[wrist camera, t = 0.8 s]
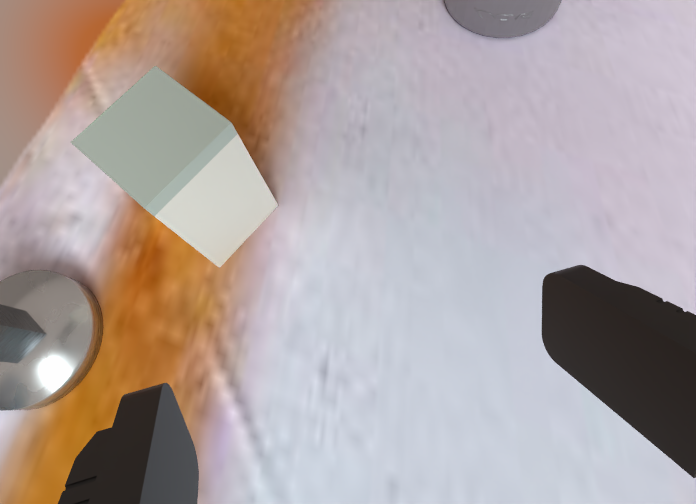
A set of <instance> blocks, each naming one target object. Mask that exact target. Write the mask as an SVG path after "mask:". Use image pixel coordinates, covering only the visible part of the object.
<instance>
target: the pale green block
mask: <svg viewBox="0 0 696 504" xmlns="http://www.w3.org/2000/svg"><path fill="white" fill-rule="evenodd" d="M71 143H72V144H73V145H74V146H75V147H76V148H78V149H79V150H80V151H81V152H82V153H83V154H84V155H85V156H86V157H88V158H89V159H90V160H91V161H92V162H93V163H94V164H95V165H97V166H98V167H99V168H100V169H101V170H102V171H103V172H104V173H105V174H107V175H108V176H109V177H110V178H111V179H112V180H113V181H114V182H115V183H117V184H118V185H119V186H120V187H121V188H122V189H123V190H124V191H126V192H127V193H128V194H129V195H130V196H131V197H132V198H133V199H134V200H136V201H137V202H138V203H139V204H140V205H141V206H142V207H143V208H145V209H146V210H147V211H148V212H150V213H151V214H152V215H153V216H155V217H156V218H157V219H158V220H160V221H161V222H162V223H164V224H165V225H166V226H167V227H169V228H170V229H171V230H172V231H174V232H175V233H176V234H177V235H179V236H180V237H181V238H182V239H184V240H185V241H186V242H187V243H189V244H190V245H191V246H193V247H194V248H195V249H196V250H198V251H199V252H200V253H201V254H203V255H204V256H205V257H206V258H208V259H209V260H210V261H211V262H213V263H214V264H215V265H217V266H218V267H219V268H220V267H221V266H222V265H223V264H224V263H225V262H226V261H227V260H228V259H229V257H230V256H231V255H232V254H233V253H234V252H235V251H236V250H237V249H238V248H239V247H240V246H241V245H242V244H243V243H244V242H245V240H246V239H247V238H248V237H249V236H250V235H251V234H252V233H253V232H254V231H255V230H256V229H257V228H258V227H259V226H260V225H261V223H262V222H263V221H264V220H265V219H266V218H267V217H268V216H269V215H270V214H271V213H272V212H273V211H274V210H275V209H276V207H277V206H278V204H277V202H276V200H275V199H274V197H273V195H272V193H271V192H270V190H269V188H268V186H267V185H266V183H265V181H264V179H263V177H262V176H261V174H260V172H259V170H258V169H257V167H256V165H255V163H254V162H253V160H252V158H251V156H250V155H249V153H248V151H247V149H246V148H245V146H244V144H243V142H242V140H241V139H240V137H239V135H238V133H237V132H236V130H235V128H234V126H233V125H232V123H231V122H230V121H229V120H227V119H226V118H225V117H223V116H222V115H221V114H219V113H218V112H217V111H215V110H214V109H213V108H211V107H210V106H209V105H207V104H206V103H205V102H203V101H202V100H201V99H199V98H198V97H197V96H195V95H194V94H193V93H191V92H190V91H189V90H187V89H186V88H185V87H183V86H182V85H181V84H179V83H178V82H177V81H175V80H174V79H173V78H171V77H170V76H169V75H167V74H166V73H165V72H163V71H162V70H161V69H159V68H158V67H157V66H154V67H153V68H152V69H151V70H150V71H149V72H148V73H147V74H145V75H144V76H143V77H142V78H141V79H140V80H139V81H138V82H137V83H136V84H134V85H133V86H132V87H131V88H130V89H129V90H128V91H127V92H126V93H125V94H123V95H122V96H121V97H120V98H119V99H118V100H117V101H116V102H115V103H113V104H112V105H111V106H110V107H109V108H108V109H107V110H106V111H105V112H104V113H102V114H101V115H100V116H99V117H98V118H97V119H96V120H95V121H94V122H92V123H91V124H90V125H89V126H88V127H87V128H86V129H85V130H84V131H83V132H81V133H80V134H79V135H78V136H77V137H76V138H75V139H74V140H73V141H71Z"/></svg>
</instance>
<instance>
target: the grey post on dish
mask: <svg viewBox="0 0 696 504" xmlns="http://www.w3.org/2000/svg"><path fill="white" fill-rule="evenodd" d="M102 335H103V319H102V313H101V309H100V307H99V304H98V302H97V300H96V298H95V296H94V295H93V294H92V293H91V291H90V290H89V289H88V288H87V287H85V286H84V285H83V284H81V283H80V282H78V281H76V280H74V279H71V278H69V277H66V276H63V275H61V274H58V273H56V272H52V271H46V270H31V271H26V272H22V273H18V274H15V275H13V276H11V277H8V278H6V279H4V280H3V281H1V282H0V410H31V409H37V408H41V407H44V406H47V405H49V404H52V403H54V402H56V401H57V400H59V399H61V398H63V397H64V396H65V395H67V394H68V393H69V392H71V391H72V390H73V389H74V388H75V387H76V386H77V385H78V384H79V383H80V382H81V381H82V380H83V378H84V377H85V376H86V374H87V373H88V372H89V370H90V369H91V367H92V365H93V363H94V361H95V359H96V357H97V354H98V352H99V349H100V345H101V341H102Z"/></svg>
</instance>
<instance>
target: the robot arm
mask: <svg viewBox="0 0 696 504" xmlns="http://www.w3.org/2000/svg"><path fill="white" fill-rule="evenodd" d="M444 1H445V4H446V7H447V9H448V11H449V13H450V14H451V15H452V17H453V18H454V19H455V20H456V21H457V22H458V23H459V24H461V25H462V26H463V27H465V28H467V29H469V30H470V31H472V32H475V33H478V34H481V35H484V36H489V37H496V38H510V37H516V36H522V35H525V34H528V33H530V32H533V31H535V30H537V29H539V28H540V27H542V26H544V25H545V24H546V23H547V22H548V21H549V20H550V19H551V18H552V17H553V16H554V14H555V13H556V11H557V10H558V7H559V5H560V3H561V0H444ZM542 339H543V343H544V346H545V348H546V350H547V352H548V354H549V355H550V357H551V358H552V359H553V360H554V361H555V362H556V363H557V364H558V365H559V366H561V367H562V368H563V369H564V370H565V371H566V372H568V373H569V374H570V375H571V376H572V377H574V378H575V379H576V380H577V381H578V382H580V383H581V384H582V385H583V386H584V387H586V388H587V389H588V390H589V391H590V392H592V393H593V394H594V395H595V396H596V397H598V398H599V399H600V400H601V401H602V402H604V403H605V404H606V405H607V406H608V407H610V408H611V409H612V410H613V411H614V412H616V413H617V414H618V415H619V416H620V417H621V418H623V419H624V420H625V421H626V422H627V423H629V424H630V425H631V426H632V427H633V428H635V429H636V430H637V431H638V432H639V433H641V434H642V435H643V436H644V437H645V438H647V439H648V440H649V441H650V442H651V443H653V444H654V445H655V446H656V447H657V448H659V449H660V450H661V451H662V452H663V453H665V454H666V455H667V456H668V457H669V458H671V459H672V460H673V461H674V462H675V463H676V464H678V465H679V466H680V467H681V468H682V469H684V470H685V471H686V472H687V473H688V474H690V475H691V476H692V477H693V478H696V315H694V314H692V313H690V312H688V311H687V312H684V311H683V309H682V308H680V307H678V306H676V305H674V304H672V303H670V302H668V301H666V302H664V301H663V299H662V298H660V297H658V296H656V295H654V294H652V293H650V292H648V291H645V290H643V289H641V288H639V287H636V286H632V285H629V284H625V283H621V282H617V281H615V280H613V279H611V278H609V277H607V276H605V275H603V274H601V273H599V272H597V271H595V270H593V269H591V268H589V267H587V266H584V265H578V266H574V267H571V268H567V269H564V270H560V271H557V272H553V273H550V274H548V275H546V277H545V278H544V280H543V286H542ZM198 480H199V471H198V462H197V456H196V451H195V447H194V444H193V441H192V439H191V436H190V434H189V431H188V429H187V426H186V423H185V421H184V418H183V416H182V413H181V411H180V408H179V406H178V403H177V401H176V398H175V396H174V393H173V391H172V389H171V387H170V386H169V384H168V383H163V384H160V385H156V386H153V387H149V388H146V389H142V390H139V391H135V392H132V393H128V394H125V395H123V397H122V398H121V401H120V404H119V407H118V410H117V414H116V417H115V420H114V423H113V426H112V428H108V429H105V430H101V431H98V432H96V434H95V435H94V436H93V437H92V439H91V440H90V441H89V442H88V443H87V445H86V446H85V447H84V448H83V450H82V451H81V452H80V453H79V455H78V456H77V457H76V458H75V461H74V464H73V466H72V469H71V471H70V474H69V477H68V479H67V482H66V484H65V487H66V490H65V491H63V492H62V495H61V497H60V500H59V502H58V504H197V498H198Z"/></svg>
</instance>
